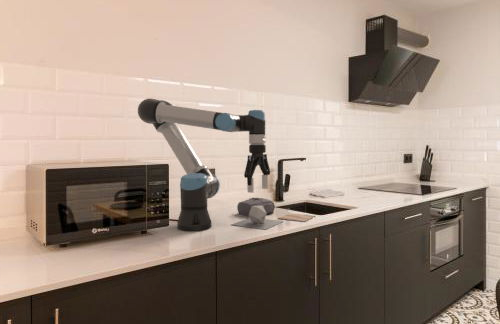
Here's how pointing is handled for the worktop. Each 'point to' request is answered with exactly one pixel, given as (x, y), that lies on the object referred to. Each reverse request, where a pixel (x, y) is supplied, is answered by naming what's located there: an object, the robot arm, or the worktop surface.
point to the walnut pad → (296, 217)
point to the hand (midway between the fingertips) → (258, 190)
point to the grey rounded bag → (246, 205)
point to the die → (257, 214)
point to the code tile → (265, 225)
